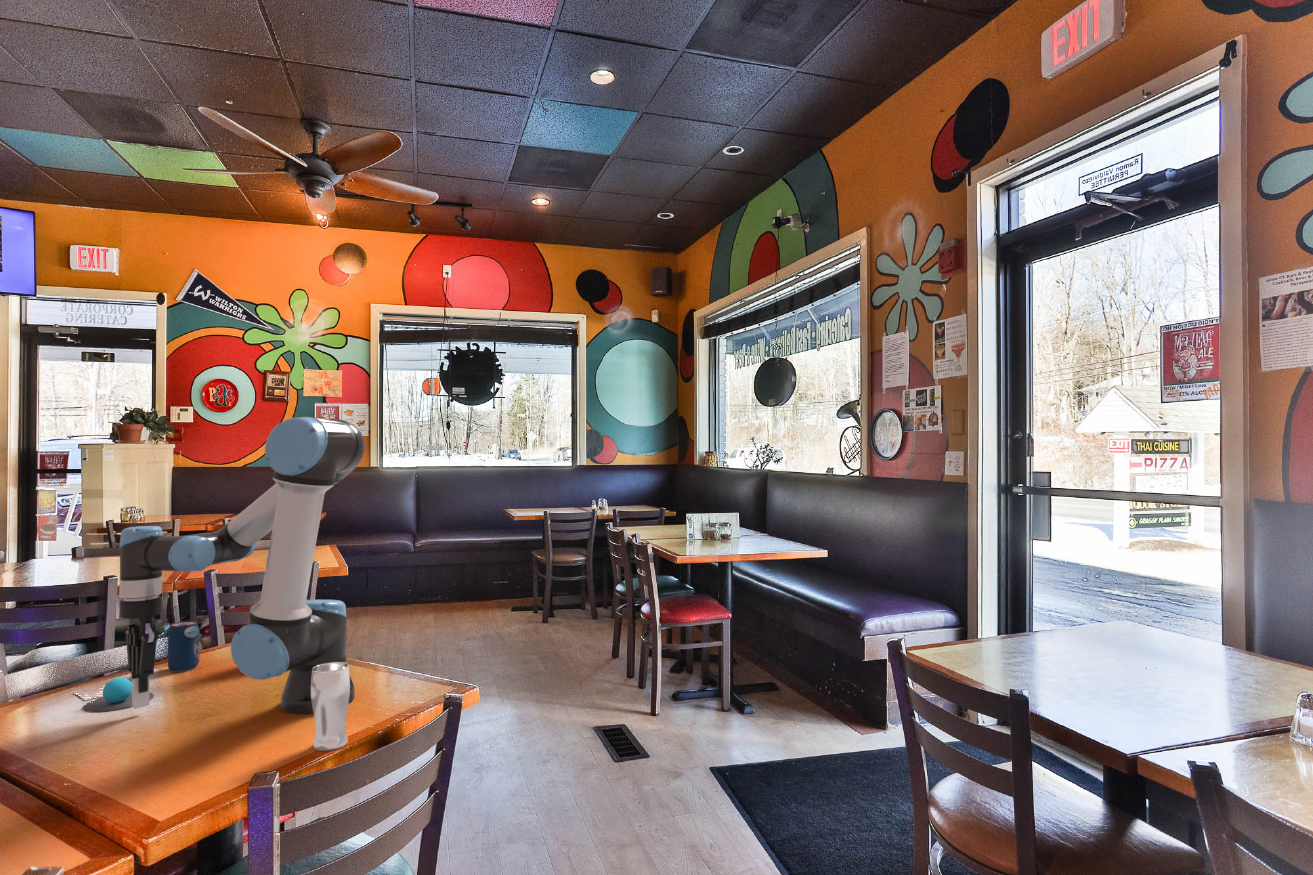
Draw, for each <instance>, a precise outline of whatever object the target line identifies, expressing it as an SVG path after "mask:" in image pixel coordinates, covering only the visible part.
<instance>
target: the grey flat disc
mask: <svg viewBox="0 0 1313 875" xmlns="http://www.w3.org/2000/svg"><path fill="white" fill-rule="evenodd" d="M154 696H155V695H154V693H152V692H150V691H149V702H150V701H152V699H153V698H154ZM94 700H95V701H93V700H91V701H89V702H86V703H85V704H86V705H85V704H84V705H83V706H82V710H83V711H84V710H85V712H87V711H91V712H90V713H107V712H108V713H109V712H114V711H121V710H125V709H129V708H130V709H131V708H132V693H131V694H130V696H129V697H128V698H127V699H126V700H124V701H122V702H119V703H110V702H108V701H106V700H105V699H104V697H100V698H95V699H94ZM90 702H91V703H90ZM92 702H93V703H92Z"/></svg>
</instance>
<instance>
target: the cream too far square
mask: <svg viewBox="0 0 1313 875" xmlns="http://www.w3.org/2000/svg"><path fill="white" fill-rule="evenodd" d="M102 686H103V687H104V686H105V685H102ZM100 689H103V688H100ZM99 692H101V693H96V694H103V693H102V692H103V691H99ZM75 694H76V695H77V694H79V693H74V694H73V695H75ZM86 694H87V693H86ZM76 695H75V696H76ZM78 696H81V695H78ZM78 696H77V697H78ZM85 696H88V695H85ZM96 696H99V697H100V696H103V695H96ZM81 698H83V697H81ZM81 698H80V699H81ZM84 698H91V697H84ZM94 698H95V699H98V698H97V697H94ZM100 698H101V697H100ZM84 700H87V701H89V700H88V699H84ZM84 700H83V701H84Z"/></svg>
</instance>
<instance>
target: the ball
mask: <svg viewBox="0 0 1313 875" xmlns="http://www.w3.org/2000/svg"><path fill="white" fill-rule="evenodd" d="M103 686H104V688H103V697H104V699H105V700H106V701H108V702H110V703H119V702H122V701H124V700H126V699H127V698H128V697H129V696H130V694H131V693H132V681H130V680H129V679H127V678H125V677H116V678H112V679H111V680H109V681H108V682H107V683H105V685H103Z"/></svg>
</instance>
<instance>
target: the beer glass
mask: <svg viewBox="0 0 1313 875" xmlns="http://www.w3.org/2000/svg"><path fill="white" fill-rule="evenodd" d="M349 666H350V664H349V663H348V662H346V663H345V662H330V663H324V664H320V665H317V666H315V667H313V668H312V677H311V702H312V708H313V713H312V714H313V717H314V723H315V734H314V739H313V746H312V748H313V749H314V750H316V751H321V752H323V751H326V752H327V751H328V752H329V751H333V750H336V749H340V748H343V747H344V746H346V745H347V744H348V741H349V739H348V734H347V729H346V727H347V726H346V721H347V719H346V718H347V712H348V708H349V696H350V676H351V674H350V667H349ZM349 674H350V675H349Z"/></svg>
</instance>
